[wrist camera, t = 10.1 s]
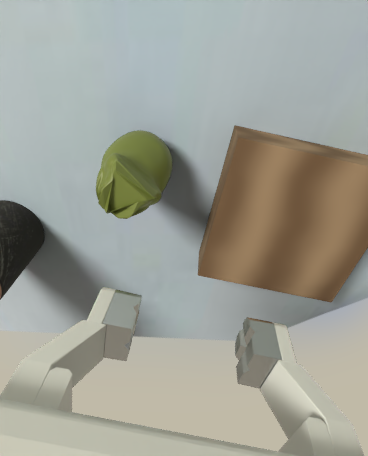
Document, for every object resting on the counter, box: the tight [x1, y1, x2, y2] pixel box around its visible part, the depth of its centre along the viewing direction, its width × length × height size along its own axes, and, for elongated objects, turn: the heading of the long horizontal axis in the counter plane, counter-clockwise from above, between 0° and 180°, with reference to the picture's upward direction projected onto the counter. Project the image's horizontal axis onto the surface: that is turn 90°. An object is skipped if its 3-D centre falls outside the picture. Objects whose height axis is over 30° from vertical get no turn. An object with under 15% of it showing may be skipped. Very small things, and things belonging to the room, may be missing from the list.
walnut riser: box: [198, 126, 368, 302], centre depth 28 cm, size 14×14×4 cm
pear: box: [96, 131, 172, 219], centre depth 23 cm, size 6×5×10 cm
